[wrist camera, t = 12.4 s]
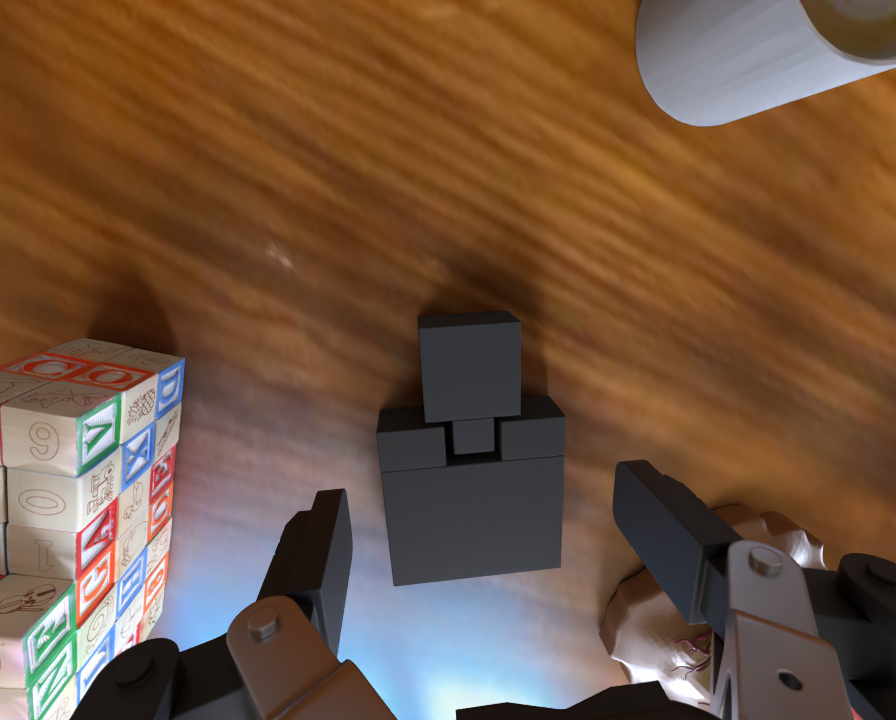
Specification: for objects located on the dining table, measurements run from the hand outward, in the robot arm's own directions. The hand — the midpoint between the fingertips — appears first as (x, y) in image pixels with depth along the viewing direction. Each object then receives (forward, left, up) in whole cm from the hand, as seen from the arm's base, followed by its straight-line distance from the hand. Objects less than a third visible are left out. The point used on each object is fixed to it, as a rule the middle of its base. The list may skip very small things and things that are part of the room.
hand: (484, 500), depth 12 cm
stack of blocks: (-22, -9, -17) cm, 29 cm away
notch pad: (+2, -10, -17) cm, 20 cm away
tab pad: (+2, -2, -17) cm, 17 cm away
